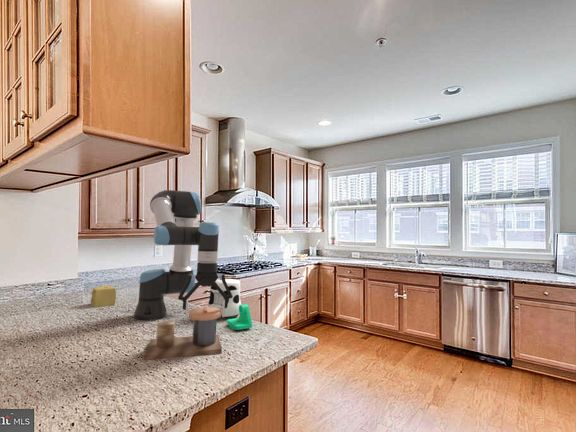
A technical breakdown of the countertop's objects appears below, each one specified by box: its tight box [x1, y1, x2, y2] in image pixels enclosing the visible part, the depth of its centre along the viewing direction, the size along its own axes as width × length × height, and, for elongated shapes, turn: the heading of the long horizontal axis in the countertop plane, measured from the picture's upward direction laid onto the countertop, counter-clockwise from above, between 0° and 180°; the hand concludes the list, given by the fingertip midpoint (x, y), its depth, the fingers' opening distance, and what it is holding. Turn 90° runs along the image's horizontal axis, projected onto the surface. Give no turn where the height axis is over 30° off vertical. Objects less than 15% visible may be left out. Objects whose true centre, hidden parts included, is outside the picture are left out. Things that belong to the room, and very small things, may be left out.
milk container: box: [207, 278, 242, 319], centre depth 163 cm, size 17×17×18 cm
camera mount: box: [226, 303, 253, 331], centre depth 145 cm, size 12×8×10 cm, turn 32°
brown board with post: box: [143, 320, 223, 360], centre depth 118 cm, size 26×16×10 cm, turn 107°
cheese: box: [90, 285, 117, 308], centre depth 178 cm, size 10×11×10 cm
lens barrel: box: [192, 319, 217, 347], centre depth 120 cm, size 8×8×10 cm
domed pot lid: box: [188, 306, 221, 321], centre depth 120 cm, size 12×12×5 cm
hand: (205, 317), depth 120 cm, fingers open, 13 cm apart
